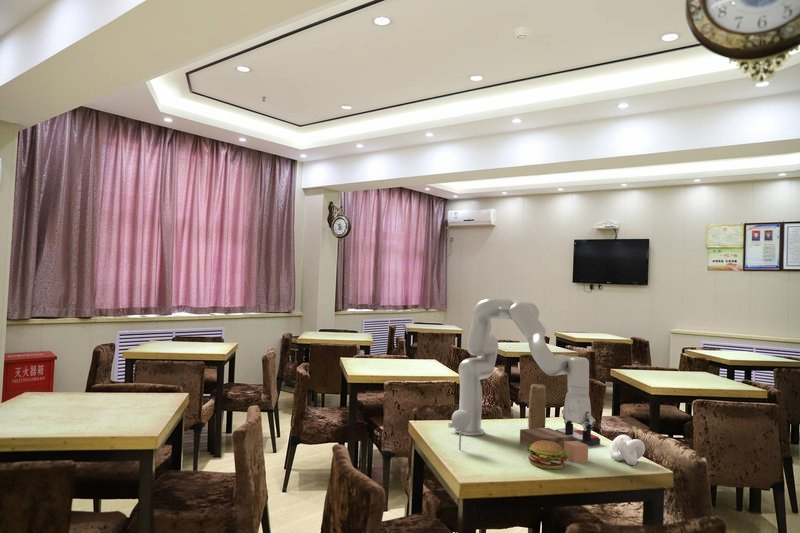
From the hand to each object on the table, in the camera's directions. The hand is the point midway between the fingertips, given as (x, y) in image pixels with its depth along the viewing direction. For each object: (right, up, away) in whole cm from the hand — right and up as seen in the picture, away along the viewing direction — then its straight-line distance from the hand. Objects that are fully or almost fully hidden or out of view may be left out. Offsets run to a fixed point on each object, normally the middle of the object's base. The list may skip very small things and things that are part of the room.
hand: (577, 438), depth 190 cm
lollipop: (-43, -6, +5) cm, 44 cm away
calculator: (+9, -11, +27) cm, 30 cm away
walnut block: (-8, -9, +14) cm, 19 cm away
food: (-13, -7, -7) cm, 17 cm away
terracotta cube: (-1, -8, 0) cm, 8 cm away
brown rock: (-4, -11, +43) cm, 45 cm away
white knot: (+18, -9, +1) cm, 20 cm away
